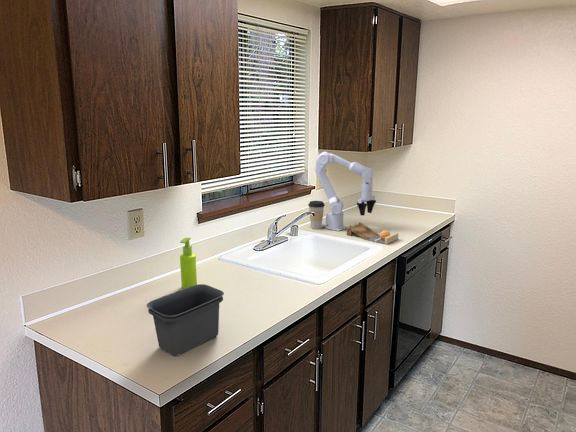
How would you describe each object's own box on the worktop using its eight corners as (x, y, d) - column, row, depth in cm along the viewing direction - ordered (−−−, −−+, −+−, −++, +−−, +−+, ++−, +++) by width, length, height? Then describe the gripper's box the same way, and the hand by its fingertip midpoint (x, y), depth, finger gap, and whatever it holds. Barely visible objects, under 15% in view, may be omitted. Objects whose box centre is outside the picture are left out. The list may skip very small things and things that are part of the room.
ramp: (346, 236, 253) (347, 225, 251) (356, 232, 260) (356, 221, 258) (368, 241, 244) (369, 229, 242) (378, 237, 251) (378, 225, 249)
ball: (378, 230, 241) (387, 232, 238) (383, 228, 245) (391, 230, 242) (378, 239, 242) (386, 241, 239) (383, 237, 246) (391, 239, 243)
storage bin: (172, 364, 129) (169, 317, 126) (141, 345, 139) (137, 301, 135) (230, 336, 145) (228, 293, 141) (198, 321, 154) (196, 280, 151)
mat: (363, 239, 244) (364, 233, 243) (375, 234, 253) (375, 228, 252) (386, 244, 236) (387, 238, 235) (398, 239, 244) (398, 233, 244)
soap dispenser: (177, 290, 179) (174, 240, 174) (185, 283, 186) (183, 235, 181) (192, 291, 178) (189, 241, 173) (199, 284, 184) (197, 236, 179)
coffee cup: (316, 224, 273) (316, 199, 269) (327, 228, 266) (328, 202, 262) (304, 227, 267) (304, 201, 264) (315, 230, 260) (316, 204, 257)
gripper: (366, 192, 248) (365, 217, 251) (380, 189, 259) (378, 212, 262) (355, 191, 253) (354, 215, 256) (369, 187, 263) (368, 210, 267)
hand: (365, 214), depth 259 cm, fingers open, 7 cm apart
